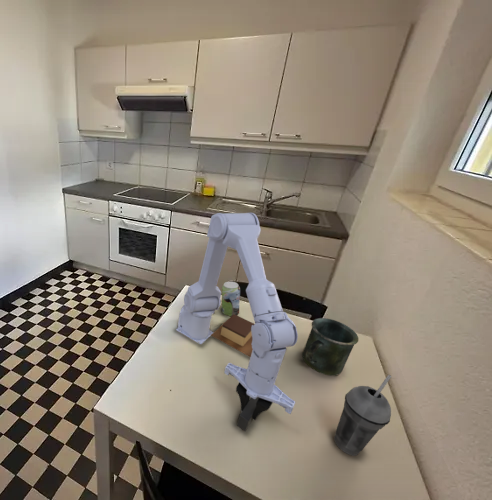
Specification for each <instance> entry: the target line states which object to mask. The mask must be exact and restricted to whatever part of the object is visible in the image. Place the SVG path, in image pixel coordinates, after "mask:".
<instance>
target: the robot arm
mask: <svg viewBox="0 0 492 500" xmlns="http://www.w3.org/2000/svg"><path fill="white" fill-rule="evenodd" d="M261 230H262V228H261V226H260V221H259V218H258V216H257V214H256V213H254V212H233V213H231V212H230V213H228V212H227V213H223V212H217V213H214V214H213V215H211V217H210V221H209V226H208V229H207V234H206V237H207V238H208V241H207V245H206V249H205V253H204V257H203V262H202V266H201V269H200V274H199V278H198V281H196V282H193V284H191V285H189V286H188V287H187V290H186V292H185V294H184V297H183V303H184V304H183V306H182V307H181V309H180V311H179V315H178V323H177V328H175V330H176V331H177V332H179V333H181V334H182V335H184V336H185V337H187V338H188V339H190V340H192V341H194V342H195V343H197V344H199V345H202V344H203V343H205V342H206V340H208V339H209V338H210V337H212V336H211V335H212V334H213V333H214V331H212V330H211V329H210V327H211V322H212V317H213V315H214V314H215V312H216V311H218V310H219V309H220V307H221V305H222V290H221V289H220V287H219V286H218V282H219V278H220V275H221V271H222V269H223V265H224V262H225V257H226V255H227V251H228V248H231V249H233V250H235V251H236V252H237V255H238V258H239V260H240V263H241V266H242V268H243V270H244V273H245V275H246V278H247V280H248V284H247V287H246V288H245V293H246V296H247V300H248V302H249V307H250V311H251V313H252V317H253V321H254V325H252V327H251V333H252V344H251V345H252V349H253V350H252V354H251V357H249V361H248V364H247V368H244V367H241V366H238V365H236V364H234V363H232V362H228V363H227V364H226V365H225V367H224V372H223V373H224V374H225V375H226V376H229V375H230V376H232V377H234V379H236V381H238V382H237V383H238V384H237V385H236V387H235V391H236V392H237V395H238V397H239V401H240V402H239V403H240V411H241V412H242V411H243V409H244V408H245V406H246V404H247V403H248V401H249V400H250V398H251V397H252V398H253V399H256V398H257V397H259V399H258V401H257V403H256V409H255V412H254V414H253V416H252V420H254V421H256V420H257V417H259V416H260V414H262V413H264V412H266V411H268V410H269V409H270V408H271V406H272V404H273V403H274V404H276V405H278V406H280V407H282V408H283V409H284V411H285V413H287V414H289V415H291V414H292V412H293V410H294V407H295V405H296V401H295V400H293V398H291V397H290V396H288V395H287V394H286V393H285V392H283V390H281V389H280V388H279V387H278V386H277V385H276V381H277V378H278V376H279V375H278V374H279V372H280V369H281V366H282V363H283V360H284V358H285V354H286V351H287V348H290V347H293V346H295V345H296V344H297V343H298V339H299V335H298V330H297V326H296V324H295V322H294V321H293V320H292V319H291V318H290V317H289V316H288V313H287V312H286V311H284V310H283V307H282V304H281V301H280V298H279V295H278V292H277V289H276V285H275V283H274V282H272V281H271V280H268V279H267V276H266V271H265V268H264V263H263V262H264V261H263V259H262V255H261V250H260V249H261V248H260V245H259V241H258V239H259V238H260V236H261V232H262V231H261Z"/></svg>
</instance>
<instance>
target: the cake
mask: <svg viewBox="0 0 492 500" xmlns="http://www.w3.org/2000/svg"><path fill="white" fill-rule="evenodd" d="M223 323H224V324H223ZM223 323H222V324H223V325H222V324H221V325H222V330H221V334H220V335H222V336H224V337H226V338H228V339H230V340H231V341H233V342H235V343H237V344H239V345H241V346H244V344H245V343H246V342H247V341H248V340H249V339H250V337H251V336H252V333H251V327H252V325H254V324H255V322H252V321H250V320H248V319H245V318H243V317H241V316H240V315H235V314H233V315H232V316H229V318H227V319H226V320H225V321H224V322H223Z"/></svg>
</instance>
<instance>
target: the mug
mask: <svg viewBox="0 0 492 500" xmlns="http://www.w3.org/2000/svg"><path fill="white" fill-rule="evenodd" d="M358 342H359V335H358V333H357V332H356V331H355V330H354V329H352V328H351V327H350V326H348V325H347V324H344V323H343V322H340V321H338V320H335V319H332V318H325V317H319V318H315V319H313V321H311V329H310V332H309V335H308V337H307V340H306V342H305V345H304V347H303V351H302V352H301V353H302V354H301V356H302V359H303V362H304V363H305V364H306V365H307V366H308V367H309V368H311V369H312V370H313V371H316V372H317V373H319V374H323V375H325V376H331V377H332V376H338V375H340V374H341V373H342V372H343V370H344V368H345V366H346V363H347V362H348V359H349V357H350V355H351V353H352V350H353V349H354V345H356V344H357V343H358Z"/></svg>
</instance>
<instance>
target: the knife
mask: <svg viewBox="0 0 492 500" xmlns="http://www.w3.org/2000/svg"><path fill="white" fill-rule="evenodd" d="M258 399H259V397H257V398H256V399H253V398H252V397H250V399H249V401H248V403H247V404H246V406H245V408H244V409H243V411H241V412H240V413H239V416H238V420H237V423H236V427H238V428H239V429H241V430H242V431H243V432H246V431H247V430H248V428H249V426H250V425H251V423H252V422H253V419H252V416H253V414H254V412H255V409H256V403H257V401H258Z"/></svg>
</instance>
